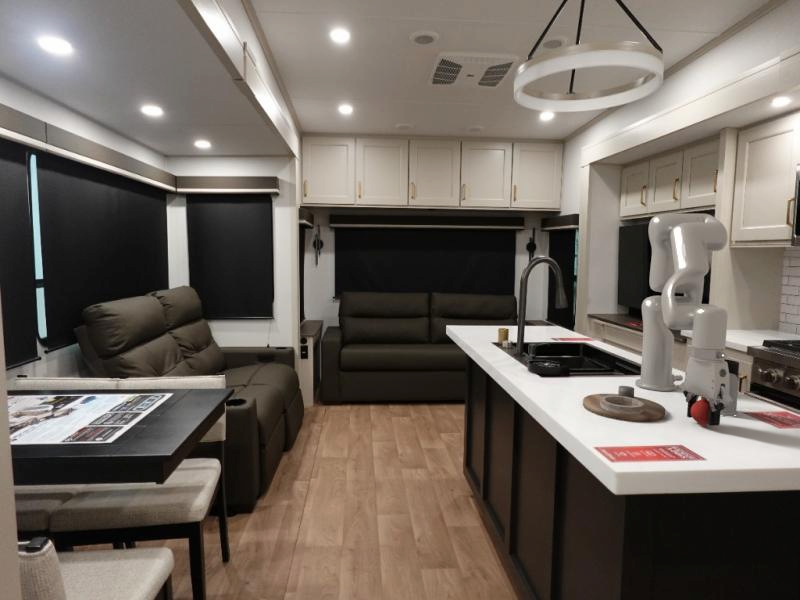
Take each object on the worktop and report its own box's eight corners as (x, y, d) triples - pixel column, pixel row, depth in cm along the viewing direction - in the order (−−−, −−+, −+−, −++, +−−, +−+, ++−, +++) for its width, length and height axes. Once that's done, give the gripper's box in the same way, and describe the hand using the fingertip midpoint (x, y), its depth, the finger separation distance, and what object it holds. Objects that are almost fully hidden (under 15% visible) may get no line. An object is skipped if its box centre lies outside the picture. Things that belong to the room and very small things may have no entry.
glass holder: (706, 414, 138) (710, 363, 137) (693, 400, 152) (697, 353, 151) (742, 418, 136) (746, 365, 134) (726, 403, 149) (729, 355, 148)
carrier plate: (627, 396, 156) (628, 382, 155) (683, 418, 135) (685, 402, 134) (567, 400, 150) (568, 386, 150) (616, 424, 129) (617, 408, 129)
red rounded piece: (708, 422, 131) (710, 394, 131) (720, 430, 126) (722, 400, 125) (685, 421, 132) (687, 393, 131) (696, 429, 126) (698, 399, 126)
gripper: (749, 360, 120) (744, 431, 121) (691, 347, 136) (687, 410, 138) (725, 361, 118) (720, 433, 120) (669, 348, 134) (665, 411, 136)
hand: (702, 420), depth 129 cm, fingers closed on red rounded piece, 5 cm apart
